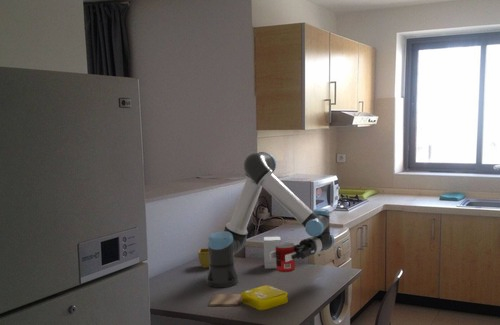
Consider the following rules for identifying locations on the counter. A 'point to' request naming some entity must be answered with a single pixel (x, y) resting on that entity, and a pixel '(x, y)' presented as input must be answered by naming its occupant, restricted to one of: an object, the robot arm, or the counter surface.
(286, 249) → the canned food
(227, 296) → the walnut trivet
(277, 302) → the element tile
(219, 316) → the counter surface
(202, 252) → the flower pot
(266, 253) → the supplement box
